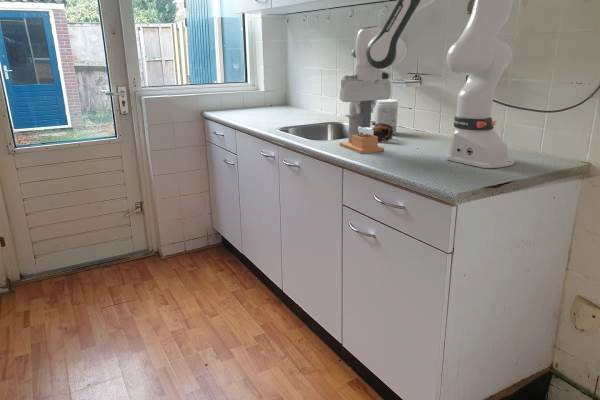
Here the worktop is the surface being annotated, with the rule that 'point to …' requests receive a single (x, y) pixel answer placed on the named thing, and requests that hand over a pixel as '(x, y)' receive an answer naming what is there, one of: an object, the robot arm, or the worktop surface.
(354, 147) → the wooden stepped base
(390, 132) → the pottery mug
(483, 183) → the worktop surface
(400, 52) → the robot arm
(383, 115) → the supplement tub
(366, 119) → the grey upright block
